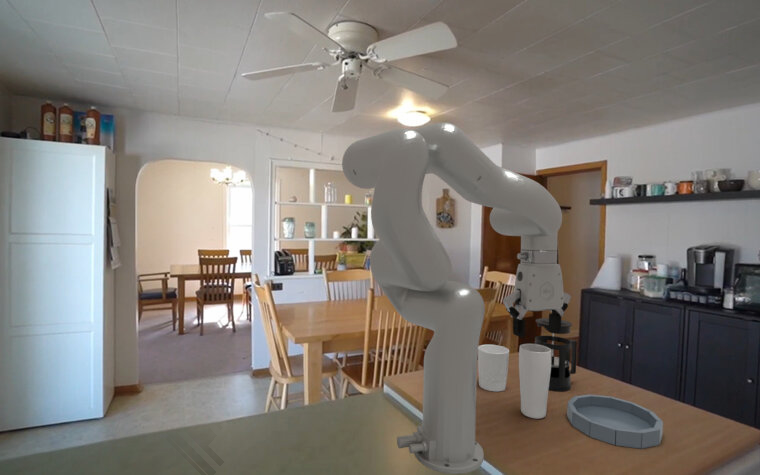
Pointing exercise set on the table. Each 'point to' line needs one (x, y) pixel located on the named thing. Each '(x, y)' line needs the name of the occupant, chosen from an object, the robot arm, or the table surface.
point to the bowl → (615, 421)
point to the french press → (561, 363)
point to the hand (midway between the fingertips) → (537, 334)
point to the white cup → (492, 367)
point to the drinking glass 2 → (534, 379)
